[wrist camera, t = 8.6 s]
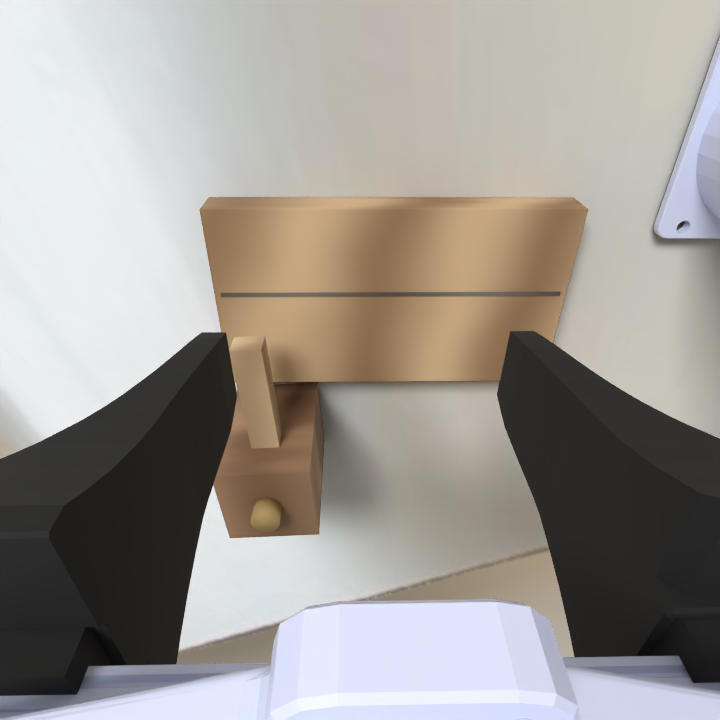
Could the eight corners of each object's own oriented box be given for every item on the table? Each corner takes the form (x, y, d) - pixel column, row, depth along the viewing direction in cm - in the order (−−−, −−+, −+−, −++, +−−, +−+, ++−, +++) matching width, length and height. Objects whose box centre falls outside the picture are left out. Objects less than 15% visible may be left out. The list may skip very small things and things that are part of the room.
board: (573, 197, 20) (588, 209, 19) (532, 361, 24) (543, 380, 23) (208, 197, 20) (199, 209, 18) (236, 363, 24) (229, 383, 23)
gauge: (307, 292, 22) (292, 385, 16) (324, 440, 27) (317, 549, 22) (217, 297, 22) (173, 391, 17) (251, 443, 27) (226, 553, 22)
